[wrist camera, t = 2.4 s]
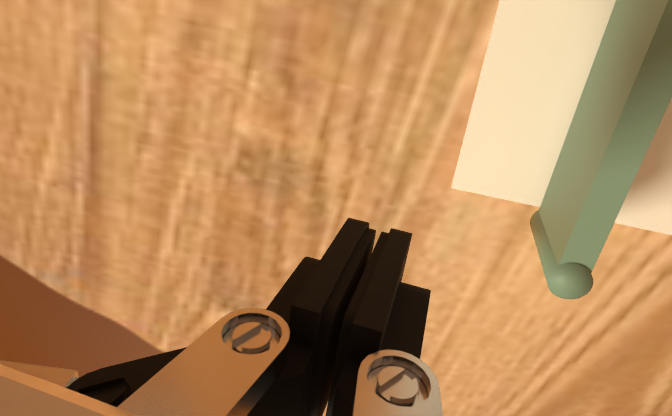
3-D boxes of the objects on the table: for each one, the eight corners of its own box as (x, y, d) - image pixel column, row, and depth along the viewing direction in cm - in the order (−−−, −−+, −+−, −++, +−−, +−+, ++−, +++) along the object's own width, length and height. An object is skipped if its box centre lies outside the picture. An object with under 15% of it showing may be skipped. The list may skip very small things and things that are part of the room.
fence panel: (634, -68, 16) (705, -105, 11) (680, -64, 16) (773, -101, 11) (525, 232, 22) (541, 293, 17) (558, 239, 22) (584, 303, 17)
